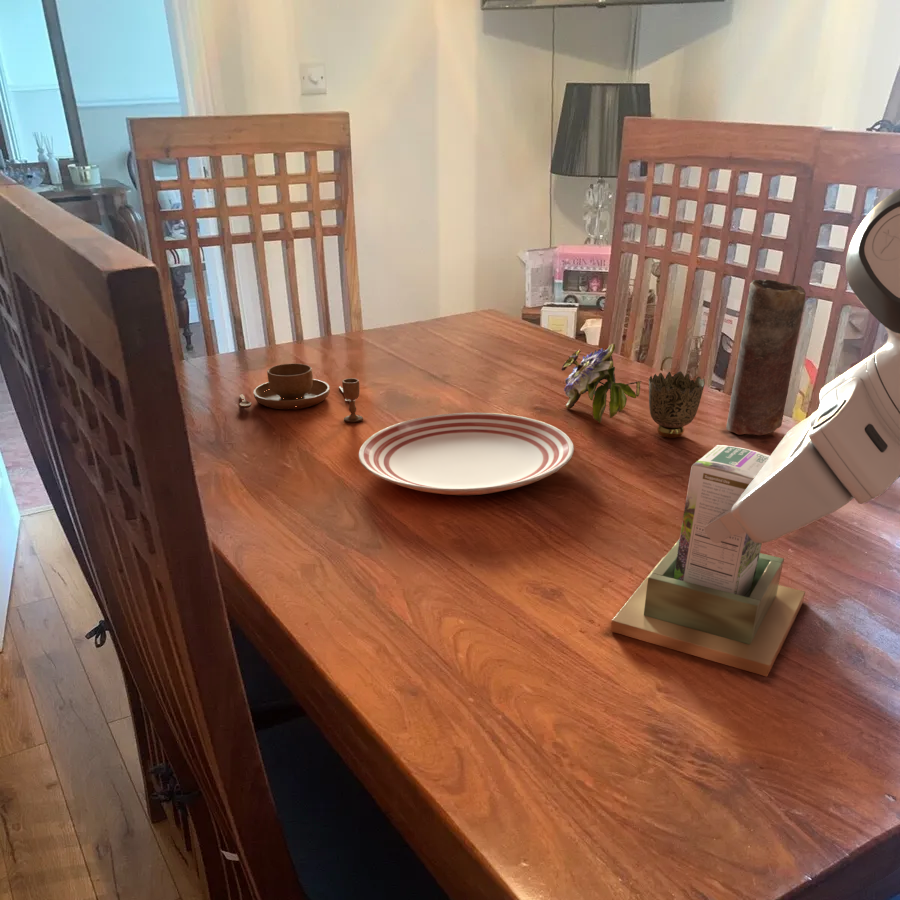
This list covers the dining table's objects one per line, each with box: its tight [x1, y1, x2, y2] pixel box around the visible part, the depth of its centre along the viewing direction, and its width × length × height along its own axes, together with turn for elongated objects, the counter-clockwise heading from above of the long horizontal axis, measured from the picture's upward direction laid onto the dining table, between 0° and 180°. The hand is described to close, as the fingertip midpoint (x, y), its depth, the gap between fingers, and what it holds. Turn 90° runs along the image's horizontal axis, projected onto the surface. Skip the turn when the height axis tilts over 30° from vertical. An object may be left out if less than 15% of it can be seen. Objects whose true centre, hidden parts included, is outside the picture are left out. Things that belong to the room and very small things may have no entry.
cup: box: [648, 371, 706, 439], centre depth 119 cm, size 8×7×8 cm
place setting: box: [238, 362, 364, 424], centre depth 132 cm, size 18×20×6 cm
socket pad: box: [610, 538, 806, 677], centre depth 79 cm, size 14×14×5 cm
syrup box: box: [674, 444, 770, 598], centre depth 76 cm, size 6×6×14 cm
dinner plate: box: [358, 412, 575, 496], centre depth 111 cm, size 27×27×3 cm
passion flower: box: [560, 343, 642, 424], centre depth 129 cm, size 11×11×12 cm
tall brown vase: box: [725, 278, 807, 436], centre depth 117 cm, size 8×7×20 cm
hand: (726, 511), depth 75 cm, fingers open, 8 cm apart
